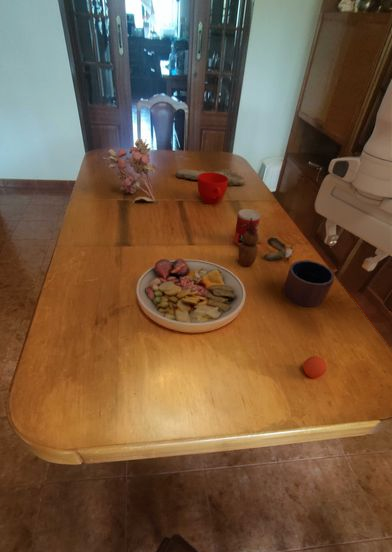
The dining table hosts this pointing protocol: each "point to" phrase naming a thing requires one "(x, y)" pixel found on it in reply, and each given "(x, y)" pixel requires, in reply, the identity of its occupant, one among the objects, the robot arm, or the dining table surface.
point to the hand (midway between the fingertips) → (347, 255)
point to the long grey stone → (232, 177)
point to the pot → (308, 283)
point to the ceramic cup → (212, 187)
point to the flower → (138, 165)
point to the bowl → (190, 295)
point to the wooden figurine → (248, 246)
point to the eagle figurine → (280, 247)
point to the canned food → (245, 224)
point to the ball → (314, 367)
